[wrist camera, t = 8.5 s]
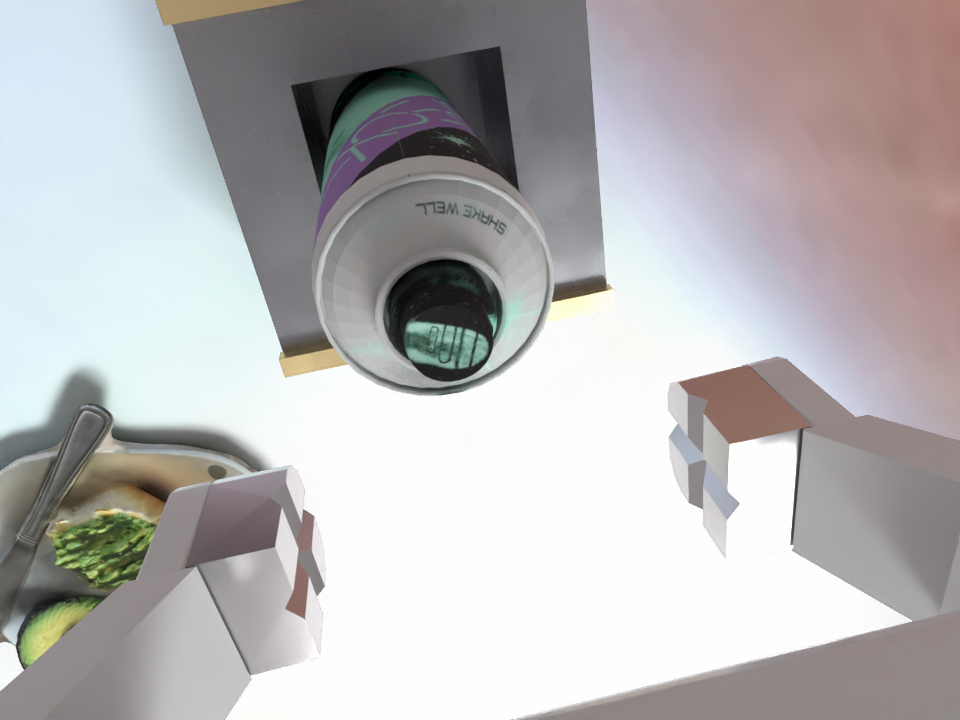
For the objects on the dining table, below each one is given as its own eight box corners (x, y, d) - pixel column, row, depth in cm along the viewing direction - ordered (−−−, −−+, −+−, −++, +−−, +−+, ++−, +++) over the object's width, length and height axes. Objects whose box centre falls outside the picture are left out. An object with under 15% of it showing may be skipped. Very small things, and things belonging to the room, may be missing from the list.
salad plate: (-76, 380, 34) (-135, 432, 30) (298, 395, 37) (290, 444, 33) (-6, 653, 43) (-44, 722, 38) (293, 645, 46) (286, 707, 42)
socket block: (526, -61, 29) (588, -82, 21) (558, 237, 35) (614, 307, 27) (212, -5, 28) (153, -5, 20) (303, 289, 35) (285, 377, 27)
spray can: (473, 166, 31) (622, 400, 14) (363, 213, 32) (379, 499, 14) (427, 44, 29) (542, 152, 12) (307, 96, 29) (245, 278, 12)
